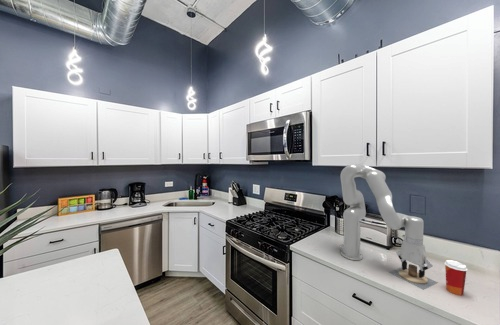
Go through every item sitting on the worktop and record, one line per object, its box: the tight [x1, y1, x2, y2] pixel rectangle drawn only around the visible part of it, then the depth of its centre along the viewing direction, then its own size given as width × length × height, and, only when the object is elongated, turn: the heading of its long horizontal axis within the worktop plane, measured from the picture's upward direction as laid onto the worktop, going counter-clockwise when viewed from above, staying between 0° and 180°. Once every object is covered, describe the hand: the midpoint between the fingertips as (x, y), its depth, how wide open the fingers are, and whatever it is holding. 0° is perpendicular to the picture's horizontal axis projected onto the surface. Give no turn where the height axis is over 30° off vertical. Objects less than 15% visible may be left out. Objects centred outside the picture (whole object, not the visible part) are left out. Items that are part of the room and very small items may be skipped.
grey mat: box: [388, 266, 439, 290], centre depth 106 cm, size 16×14×1 cm
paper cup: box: [443, 259, 468, 296], centre depth 95 cm, size 8×8×14 cm
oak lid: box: [399, 263, 428, 284], centre depth 106 cm, size 12×12×6 cm
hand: (412, 272), depth 106 cm, fingers open, 7 cm apart
